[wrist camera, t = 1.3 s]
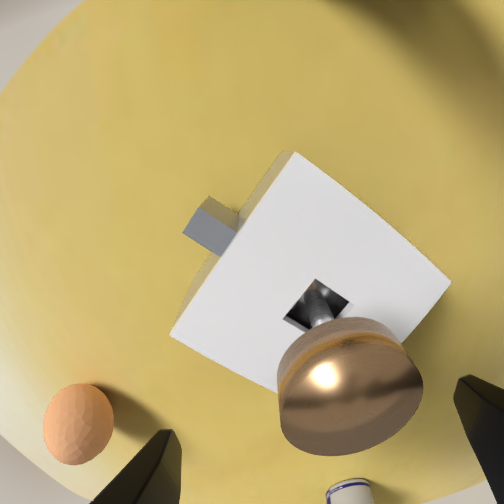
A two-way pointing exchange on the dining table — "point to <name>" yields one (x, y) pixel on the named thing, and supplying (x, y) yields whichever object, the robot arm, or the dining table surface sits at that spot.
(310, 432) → the plunger
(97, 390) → the egg
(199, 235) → the white box with hole
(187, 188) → the dining table surface
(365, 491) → the energy drink
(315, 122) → the dining table surface
